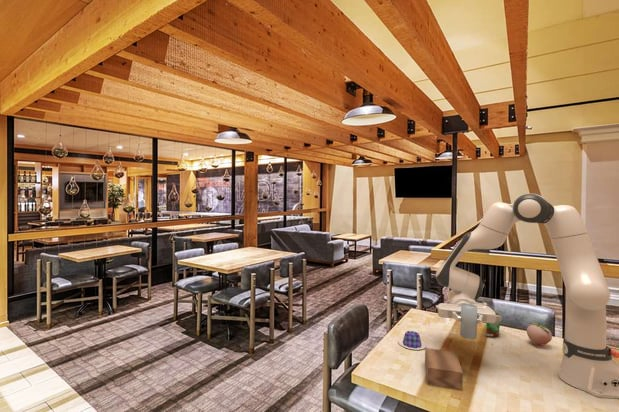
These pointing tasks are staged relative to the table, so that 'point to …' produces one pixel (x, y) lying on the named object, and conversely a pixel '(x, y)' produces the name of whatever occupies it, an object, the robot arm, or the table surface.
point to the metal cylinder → (468, 321)
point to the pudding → (412, 341)
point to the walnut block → (443, 369)
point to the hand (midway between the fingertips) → (469, 320)
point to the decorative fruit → (539, 334)
